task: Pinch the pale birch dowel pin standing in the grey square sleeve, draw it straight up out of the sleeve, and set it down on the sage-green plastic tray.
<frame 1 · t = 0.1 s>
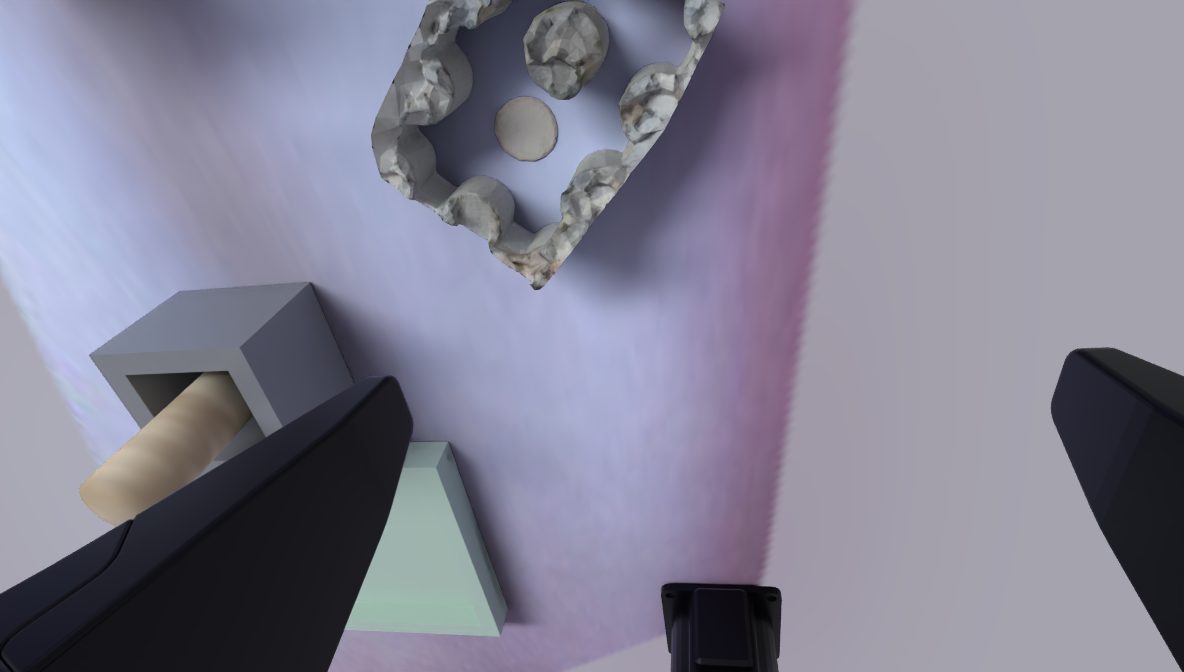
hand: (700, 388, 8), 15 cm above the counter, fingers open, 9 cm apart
tray: (336, 532, 36), on the counter
dowel pin: (268, 354, 28), resting on grey square sleeve
grey square sleeve: (274, 348, 29), on the counter
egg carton: (546, 81, 21), on the counter
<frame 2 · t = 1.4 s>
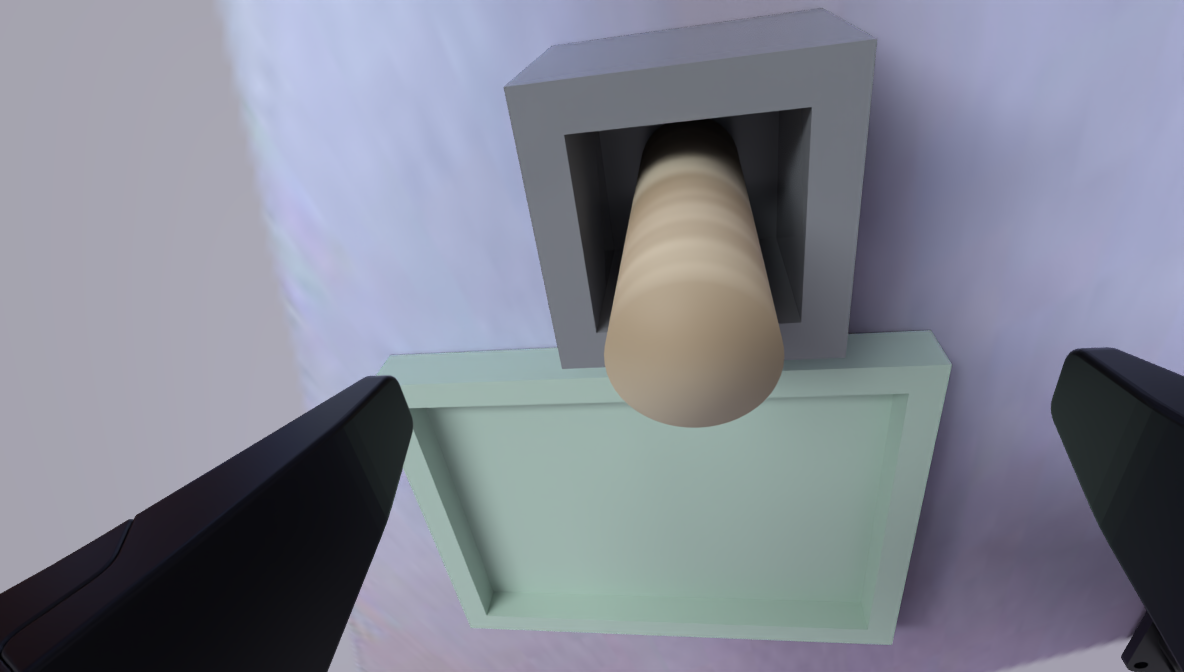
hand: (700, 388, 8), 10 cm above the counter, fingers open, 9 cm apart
tray: (656, 490, 24), on the counter
dowel pin: (689, 165, 16), resting on grey square sleeve
grey square sleeve: (689, 160, 17), on the counter
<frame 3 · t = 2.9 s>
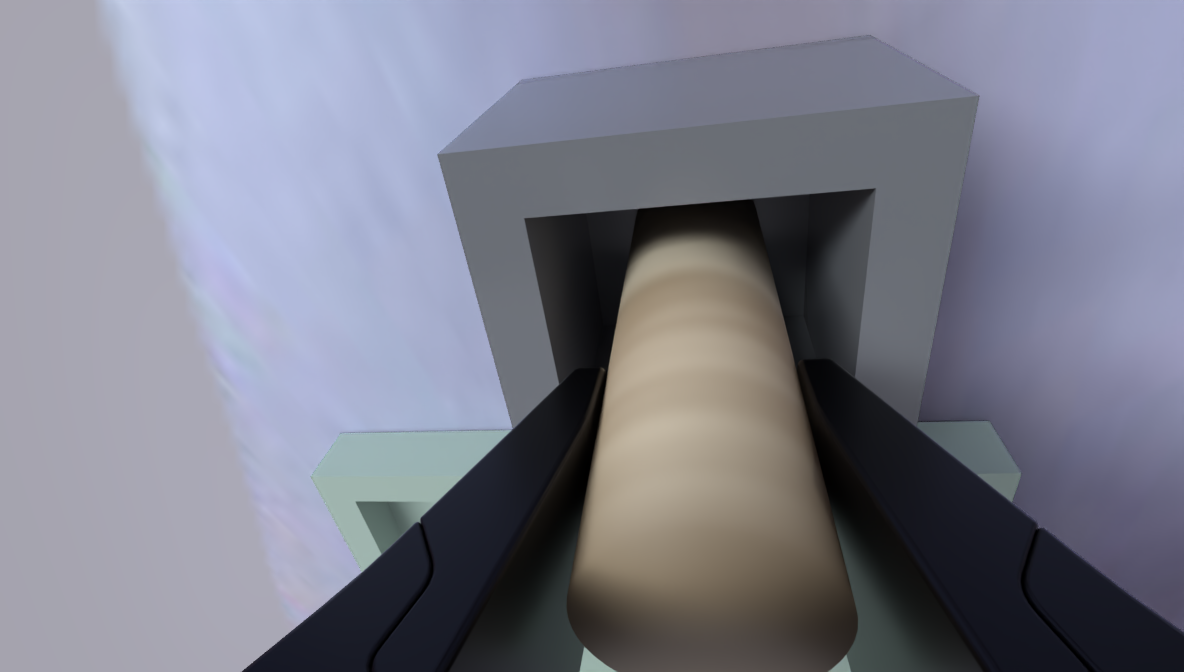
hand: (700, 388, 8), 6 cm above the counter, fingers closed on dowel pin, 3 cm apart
tray: (654, 583, 21), on the counter
dowel pin: (695, 229, 13), point 1 cm above the counter, touching grey square sleeve, gripper
grey square sleeve: (695, 219, 13), on the counter
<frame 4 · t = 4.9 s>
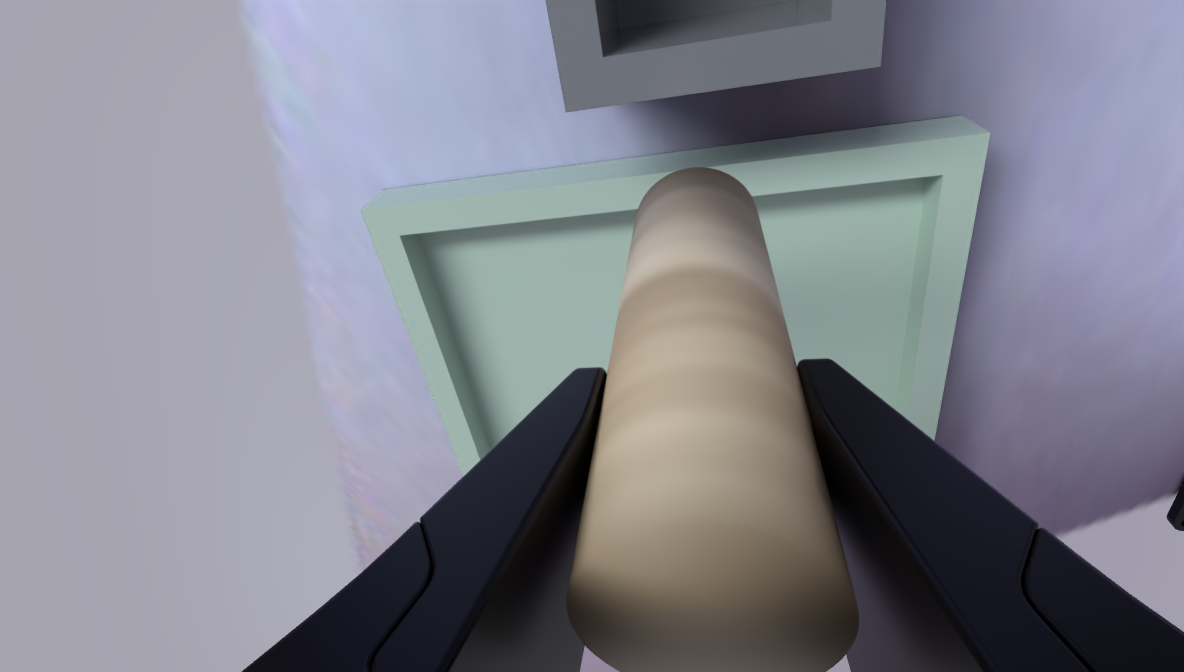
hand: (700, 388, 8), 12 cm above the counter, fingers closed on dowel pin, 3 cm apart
tray: (668, 341, 23), on the counter
dowel pin: (695, 227, 13), point 7 cm above the counter, touching gripper
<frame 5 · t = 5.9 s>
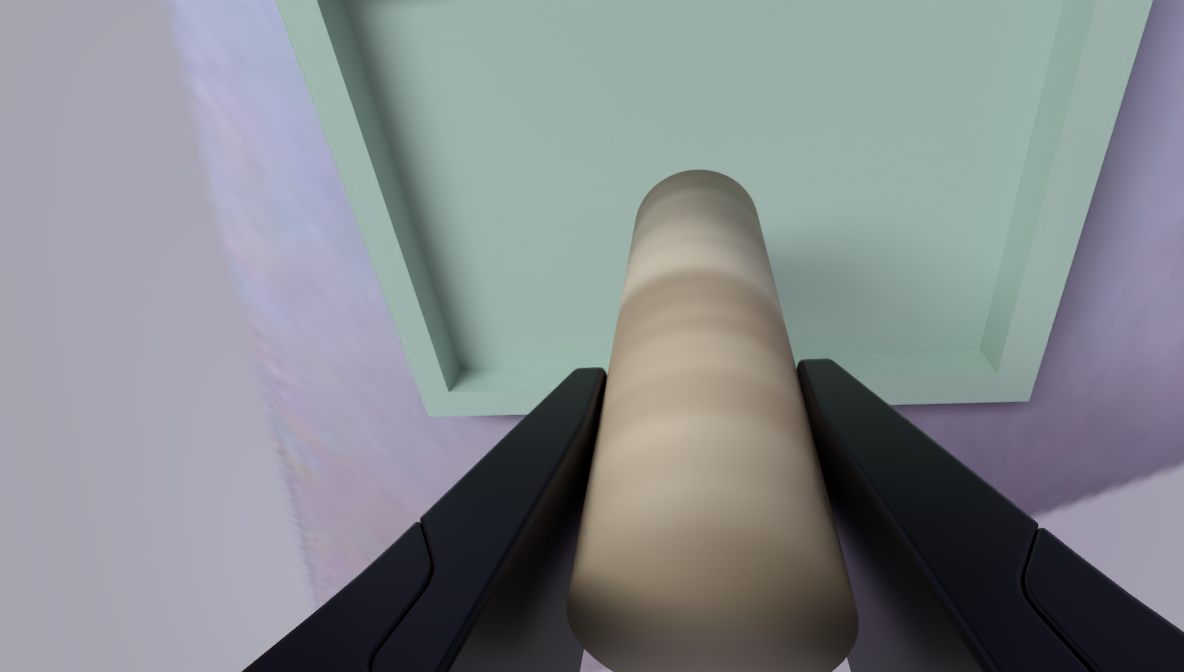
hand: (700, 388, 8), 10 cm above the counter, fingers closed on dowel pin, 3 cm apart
tray: (689, 166, 16), on the counter
dowel pin: (695, 229, 13), point 4 cm above the counter, touching gripper
when the fingers open (8 cm above the counter, at t = 6.9 s): dowel pin drops 1 cm, resting on tray.
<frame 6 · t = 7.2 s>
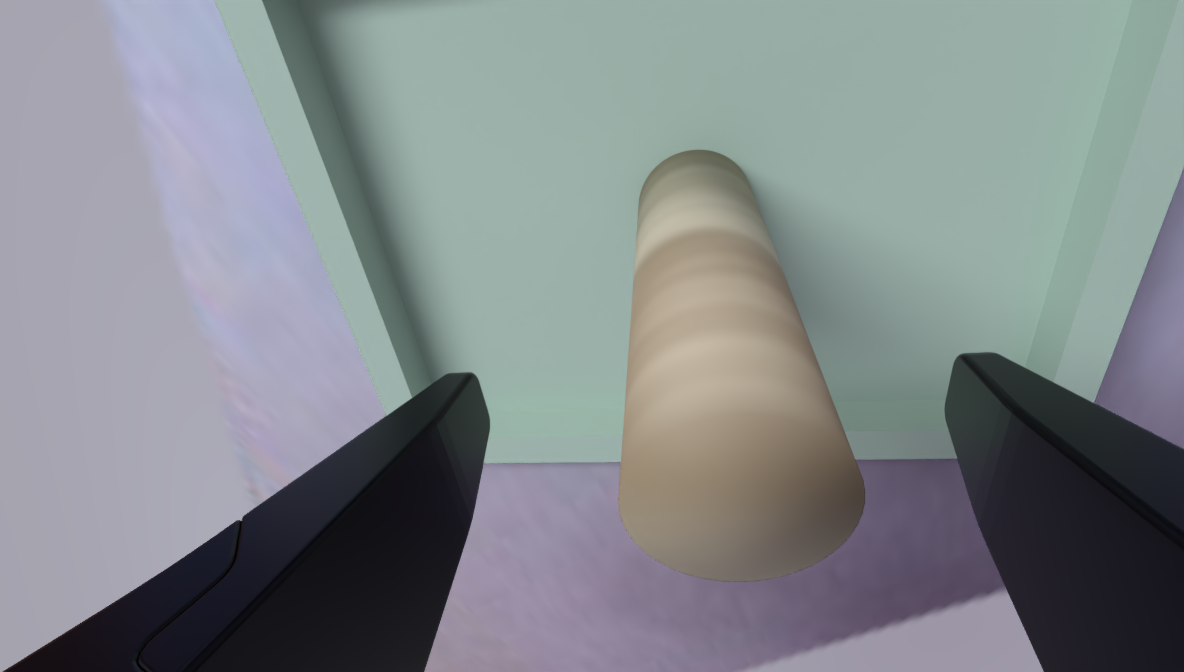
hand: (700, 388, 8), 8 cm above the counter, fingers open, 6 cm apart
tray: (693, 195, 15), on the counter
dowel pin: (694, 205, 14), point 1 cm above the counter, touching tray
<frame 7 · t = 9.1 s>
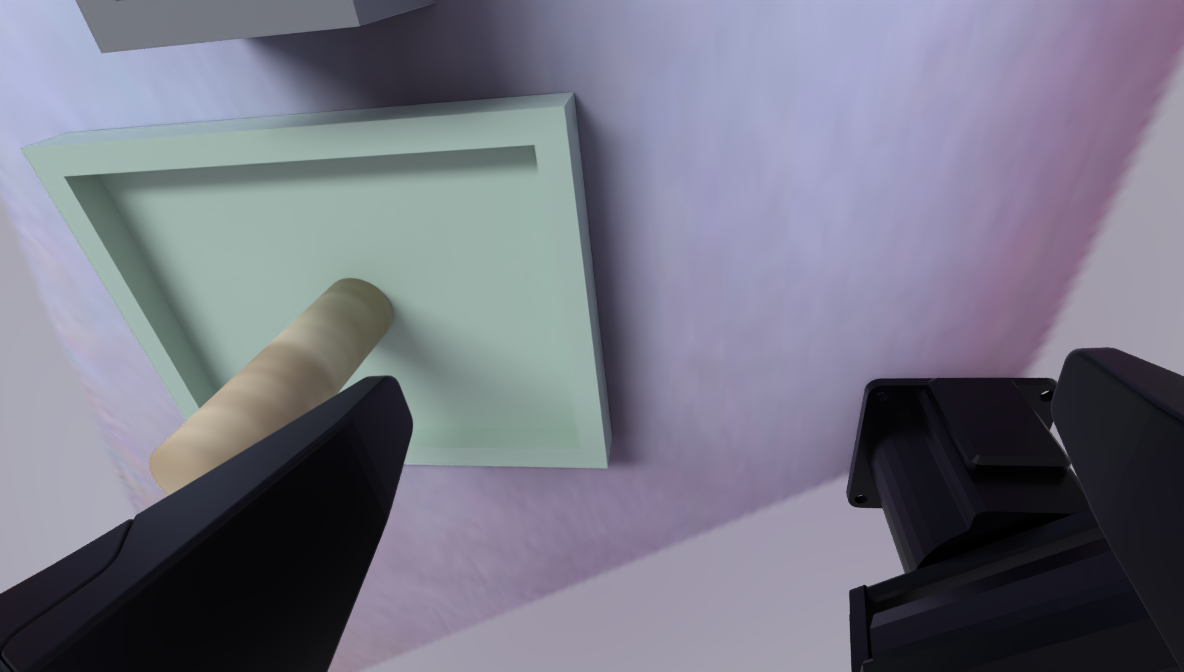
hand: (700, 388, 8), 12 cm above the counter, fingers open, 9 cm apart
tray: (366, 300, 24), on the counter
dowel pin: (359, 308, 23), point 1 cm above the counter, touching tray
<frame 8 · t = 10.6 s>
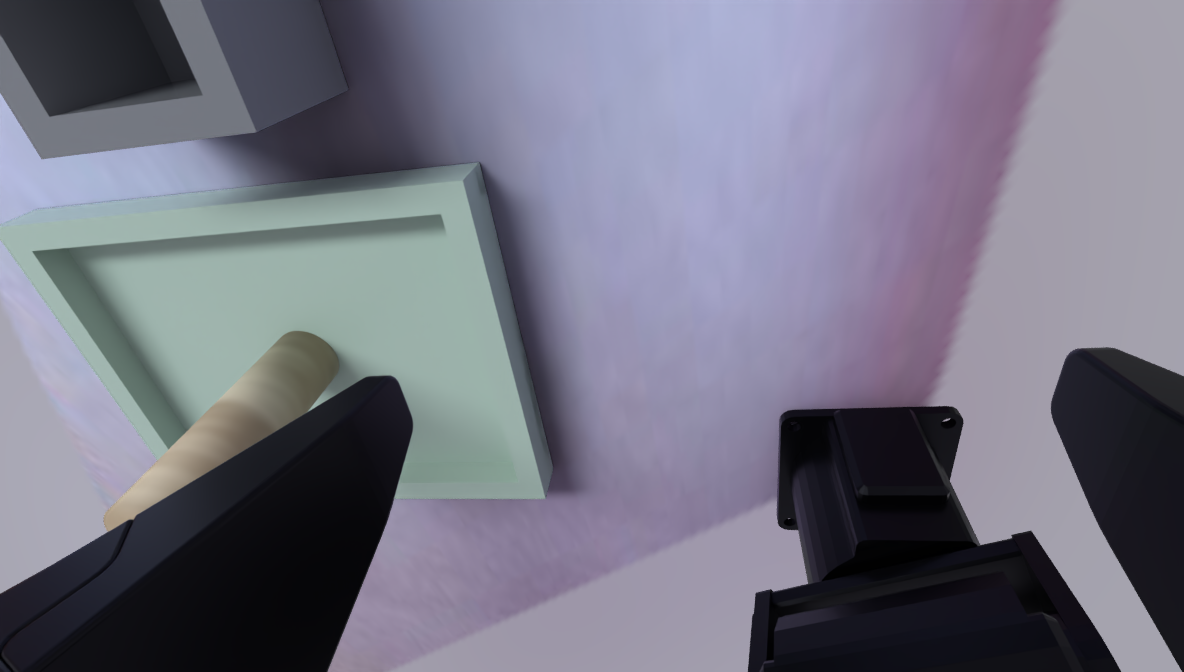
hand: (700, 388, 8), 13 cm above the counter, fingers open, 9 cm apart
tray: (315, 349, 25), on the counter
dowel pin: (308, 357, 25), point 1 cm above the counter, touching tray
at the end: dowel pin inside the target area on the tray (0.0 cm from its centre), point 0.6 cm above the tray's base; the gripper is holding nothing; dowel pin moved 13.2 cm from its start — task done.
